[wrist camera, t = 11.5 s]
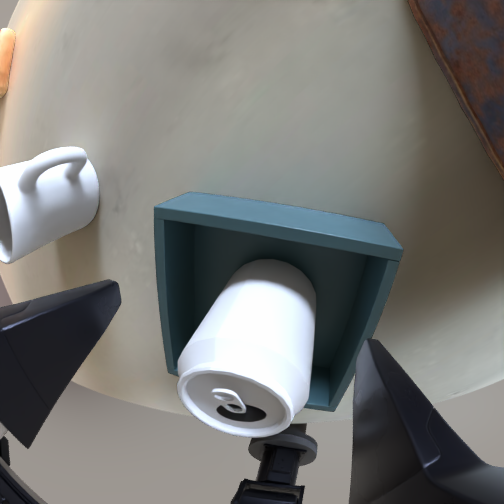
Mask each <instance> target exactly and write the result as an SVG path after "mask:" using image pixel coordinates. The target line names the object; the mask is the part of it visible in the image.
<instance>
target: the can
mask: <svg viewBox="0 0 504 504" xmlns="http://www.w3.org/2000/svg"><path fill="white" fill-rule="evenodd" d="M315 321H316V293H315V291H314V288H313V286H312V283H311V281H310V280H309V279H308V278H307V277H306V276H305V275H304V273H303V272H302V271H301V270H299V269H297V268H296V267H294V266H292V265H291V264H289V263H287V262H283V261H279V260H275V259H261V260H255V261H252V262H250V263H247V264H244V265H243V266H242V267H241V268H239V269H238V270H237V271H236V272H235V273H234V274H233V275H232V277H231V278H230V280H229V281H228V283H227V284H226V286H225V287H224V289H223V291H222V292H221V294H220V295H219V297H218V298H217V300H216V301H215V303H214V304H213V306H212V307H211V309H210V310H209V312H208V313H207V315H206V316H205V318H204V319H203V321H202V322H201V324H200V325H199V327H198V328H197V330H196V331H195V333H194V334H193V336H192V337H191V339H190V341H189V342H188V344H187V345H186V347H185V348H184V350H183V352H182V353H181V355H180V357H179V359H178V375H179V377H180V379H179V381H178V383H177V393H178V396H179V398H180V400H181V402H182V403H183V405H184V406H185V408H186V409H187V410H188V411H189V412H190V413H191V414H192V415H193V416H194V417H196V418H197V419H199V420H200V421H201V422H203V423H204V424H206V425H208V426H210V427H213V428H214V429H216V430H219V431H221V432H224V433H228V434H231V435H235V436H241V437H249V438H254V437H267V436H270V435H274V434H278V433H280V432H281V431H283V430H284V429H286V428H287V427H289V425H290V423H291V422H292V420H293V418H294V415H296V414H297V413H299V412H300V411H301V410H302V409H303V407H304V406H305V404H306V402H307V400H308V398H309V389H310V380H311V370H312V360H313V348H314V335H315Z"/></svg>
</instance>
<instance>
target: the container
mask: <svg viewBox="0 0 504 504" xmlns="http://www.w3.org/2000/svg"><path fill="white" fill-rule="evenodd" d="M408 3H409V5H410V7H411V10H412V13H413V15H414V17H415V19H416V21H417V23H418V25H419V26H420V28H421V30H422V32H423V34H424V36H425V38H426V40H427V42H428V44H429V46H430V48H431V50H432V52H433V55H434V57H435V59H436V61H437V63H438V64H439V66H440V68H441V69H442V71H443V73H444V75H445V76H446V78H447V80H448V82H449V84H450V86H451V88H452V89H453V91H454V93H455V95H456V97H457V99H458V101H459V104H460V106H461V108H462V110H463V111H464V113H465V114H466V116H467V118H468V119H469V121H470V123H471V124H472V126H473V128H474V130H475V132H476V133H477V135H478V137H479V139H480V141H481V143H482V145H483V147H484V149H485V151H486V153H487V154H488V156H489V157H490V159H491V160H492V162H493V163H494V165H495V167H496V168H497V170H498V171H499V173H500V175H501V176H502V178H503V180H504V0H408Z"/></svg>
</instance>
